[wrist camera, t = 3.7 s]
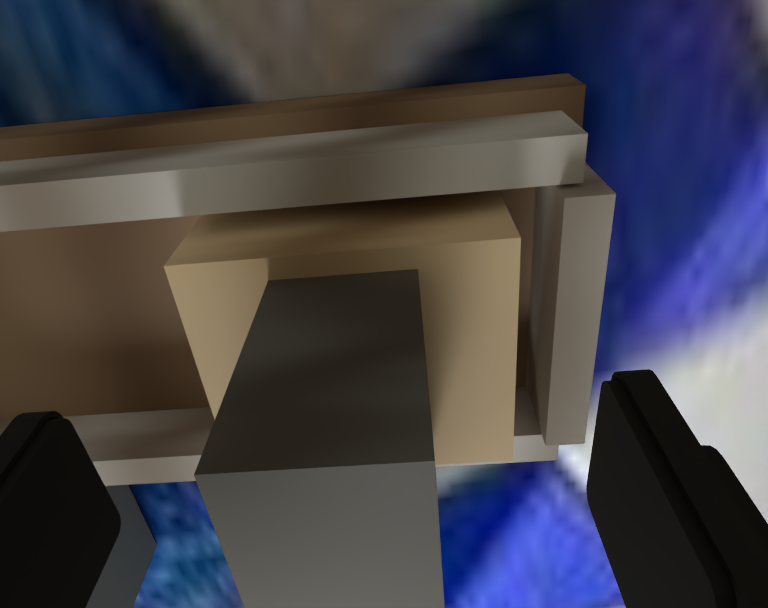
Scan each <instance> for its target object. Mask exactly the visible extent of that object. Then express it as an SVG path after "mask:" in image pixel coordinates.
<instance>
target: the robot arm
mask: <svg viewBox="0 0 768 608" xmlns="http://www.w3.org/2000/svg"><path fill="white" fill-rule="evenodd" d="M587 499H588V504H589V507H590V510H591V513H592V516H593V518H594V521H595V524H596V527H597V529H598V532H599V535H600V538H601V540H602V543H603V546H604V548H605V551H606V554H607V557H608V559H609V562H610V565H611V568H612V570H613V573H614V576H615V578H616V581H617V584H618V587H619V589H620V592H621V595H622V598H623V600H624V603H625V606H626V608H768V524H767V522H766V521H765V519H764V518H763V516H762V515H761V513H760V512H759V510H758V509H757V507H756V506H755V504H754V503H753V501H752V500H751V498H750V497H749V495H748V494H747V492H746V491H745V489H744V488H743V486H742V485H741V483H740V482H739V480H738V479H737V477H736V476H735V474H734V473H733V471H732V470H731V468H730V467H729V465H728V464H727V462H726V461H725V459H724V458H723V457H722V455H721V454H720V453H719V452H718V451H717V450H716V449H715V448H713V447H712V446H705V445H704V446H701V445H700V443H699V442H698V440H697V439H696V437H695V436H694V434H693V432H692V431H691V429H690V428H689V426H688V425H687V423H686V421H685V420H684V418H683V417H682V415H681V414H680V412H679V411H678V409H677V407H676V406H675V404H674V403H673V401H672V400H671V398H670V396H669V395H668V393H667V392H666V390H665V389H664V387H663V385H662V384H661V382H660V381H659V379H658V378H657V376H656V375H655V373H654V372H653V371H651V370H649V369H648V370H634V371H619V372H614V374H613V375H612V379H611V381H604V382H603V383H602V385H601V391H600V398H599V405H598V411H597V418H596V425H595V432H594V439H593V446H592V453H591V460H590V466H589V473H588V480H587ZM120 528H121V517H120V514H119V512H118V510H117V508H116V506H115V504H114V502H113V500H112V498H111V496H110V495H109V493H108V491H107V489H106V487H105V485H104V483H103V481H102V479H101V477H100V476H99V474H98V472H97V470H96V468H95V466H94V464H93V462H92V460H91V458H90V457H89V455H88V453H87V451H86V449H85V447H84V445H83V443H82V441H81V439H80V437H79V436H78V434H77V432H76V430H75V428H74V426H73V424H72V423H71V421H70V420H68V419H67V418H63V416H62V415H61V414H60V413H58V412H57V411H43V412H29V413H21V414H19V415H17V416H16V417H15V418H14V419H13V420H12V421H11V422H10V424H9V425H8V426H7V427H6V429H5V430H4V431H3V432H2V434H1V435H0V608H86V606H87V604H88V601H89V599H90V597H91V595H92V593H93V590H94V588H95V586H96V584H97V582H98V579H99V577H100V575H101V573H102V571H103V568H104V566H105V564H106V562H107V560H108V557H109V555H110V553H111V551H112V549H113V547H114V544H115V542H116V540H117V538H118V535H119V533H120Z"/></svg>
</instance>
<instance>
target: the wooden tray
mask: <svg viewBox="0 0 768 608" xmlns="http://www.w3.org/2000/svg"><path fill="white" fill-rule="evenodd" d="M585 91H586V84H584V83H582V82H581V81H579V80H578V79H576V78H574V77H573V76H571V75H570V74H568V73H565V74H554V75H544V76H533V77H523V78H512V79H502V80H491V81H481V82H470V83H460V84H449V85H439V86H428V87H418V88H407V89H397V90H386V91H376V92H365V93H355V94H344V95H334V96H323V97H313V98H302V99H292V100H281V101H271V102H260V103H250V104H239V105H229V106H218V107H208V108H197V109H187V110H176V111H166V112H155V113H145V114H134V115H124V116H113V117H103V118H92V119H81V120H71V121H60V122H50V123H39V124H29V125H18V126H8V127H0V435H1V434H2V432H3V431H4V430H5V429H6V427H7V426H8V425H9V424H10V422H11V421H12V420H13V419H14V418H15V417H16V416H17V415H19V414H21V413H29V412H43V411H57V412H58V413H60V414H61V415H62V416H63V418H67V419H68V420H70V421H71V423H72V424H73V426H74V428H75V430H76V432H77V434H78V436H79V437H80V439H81V441H82V443H83V445H84V447H85V449H86V451H87V453H88V455H89V457H90V458H91V460H92V462H93V464H94V466H95V468H96V470H97V472H98V474H99V476H100V477H101V479H102V481H103V483H104V485H105V486H113V485H130V484H148V483H165V482H183V481H196V479H195V477H194V473H195V471H196V468H197V465H198V463H199V460H200V458H201V455H202V452H203V450H204V447H205V444H206V442H207V439H208V437H209V434H210V431H211V429H212V426H213V424H214V421H215V420H214V417H213V414H212V411H211V408H210V405H209V402H208V398H207V395H206V392H205V389H204V386H203V383H202V380H201V377H200V374H199V371H198V368H197V365H196V362H195V359H194V356H193V353H192V350H191V347H190V344H189V341H188V338H187V335H186V332H185V329H184V326H183V323H182V320H181V317H180V314H179V311H178V308H177V305H176V302H175V299H174V296H173V293H172V290H171V287H170V284H169V281H168V278H167V275H166V272H165V269H164V265H165V263H166V262H167V261H168V259H169V258H170V257H171V255H172V254H173V253H174V251H175V250H176V249H177V247H178V246H179V245H180V243H181V242H182V241H183V239H184V238H185V237H186V235H187V234H188V232H189V231H190V230H191V228H192V227H193V226H194V224H195V223H196V222H197V220H198V219H199V218H200V216H201V215H207V214H219V213H231V212H243V211H255V210H266V209H278V208H290V207H302V206H314V205H326V204H338V203H349V202H361V201H373V200H385V199H397V198H409V197H421V196H432V195H444V194H456V193H468V192H480V191H492V190H499V192H500V194H501V196H502V198H503V201H504V203H505V205H506V207H507V209H508V211H509V213H510V215H511V217H512V220H513V222H514V224H515V226H516V228H517V230H518V232H519V234H520V237H521V252H520V279H519V306H518V333H517V360H516V387H515V414H514V441H513V460H510V461H493V462H475V463H458V464H441V465H435V467H444V466H461V465H479V464H496V463H514V462H531V461H548V460H557V456H558V446H559V445H566V444H583V443H585V435H586V427H587V419H588V411H589V403H590V395H591V387H592V380H593V372H594V364H595V356H596V348H597V340H598V332H599V324H600V317H601V309H602V301H603V293H604V285H605V277H606V269H607V261H608V254H609V246H610V238H611V230H612V222H613V214H614V206H615V198H616V193H615V192H614V191H613V190H612V189H611V188H610V187H609V186H608V185H607V184H606V183H605V182H604V181H603V180H602V179H601V178H600V177H599V176H598V175H597V174H596V173H595V172H594V171H593V170H592V169H591V168H590V167H589V166H588V165H587V163H586V162H585V160H586V149H587V139H588V133H587V132H586V131H585V130H583V129H582V125H583V113H584V102H585Z"/></svg>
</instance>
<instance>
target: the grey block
mask: <svg viewBox="0 0 768 608" xmlns="http://www.w3.org/2000/svg"><path fill="white" fill-rule="evenodd" d="M105 487H106V489H107V491H108V493H109V495H110V496H111V498H112V500H113V502H114V504H115V506H116V508H117V510H118V512H119V514H120V517H121V528H120V533H119V535H118V538H117V540H116V542H115V544H114V547H113V549H112V551H111V553H110V555H109V557H108V560H107V562H106V564H105V566H104V568H103V571H102V573H101V575H100V577H99V579H98V582H97V584H96V586H95V588H94V590H93V593H92V595H91V597H90V599H89V601H88V604H87V606H86V608H132V607H133V604H134V602H135V599H136V597H137V594H138V592H139V589H140V587H141V584H142V582H143V579H144V577H145V574H146V572H147V569H148V567H149V564H150V562H151V559H152V557H153V554H154V552H155V549H156V547H157V544H156V542H155V540H154V538H153V536H152V534H151V532H150V530H149V527H148V525H147V523H146V521H145V519H144V517H143V515H142V513H141V511H140V509H139V506H138V504H137V502H136V500H135V498H134V496H133V494H132V492H131V490H130V488H129V486H128V485H113V486H105Z"/></svg>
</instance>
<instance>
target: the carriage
mask: <svg viewBox="0 0 768 608" xmlns="http://www.w3.org/2000/svg"><path fill="white" fill-rule="evenodd" d="M520 252H521V237H520V234H519V232H518V230H517V228H516V226H515V224H514V222H513V220H512V217H511V215H510V213H509V211H508V209H507V207H506V205H505V203H504V201H503V198H502V196H501V194H500V192H499V190H492V191H480V192H468V193H456V194H444V195H432V196H421V197H409V198H397V199H385V200H373V201H361V202H349V203H338V204H326V205H314V206H302V207H290V208H278V209H266V210H255V211H243V212H231V213H219V214H207V215H201V216H200V218H199V219H198V220H197V222H196V223H195V224H194V226H193V227H192V228H191V230H190V231H189V232H188V234H187V235H186V237H185V238H184V239H183V241H182V242H181V243H180V245H179V246H178V247H177V249H176V250H175V251H174V253H173V254H172V255H171V257H170V258H169V259H168V261H167V262H166V263H165V265H164V269H165V272H166V275H167V278H168V281H169V284H170V287H171V290H172V293H173V296H174V299H175V302H176V305H177V308H178V311H179V314H180V317H181V320H182V323H183V326H184V329H185V332H186V335H187V338H188V341H189V344H190V347H191V350H192V353H193V356H194V359H195V362H196V365H197V368H198V371H199V374H200V377H201V380H202V383H203V386H204V389H205V392H206V395H207V398H208V402H209V405H210V408H211V411H212V414H213V417H214V420H215V421H214V424H213V426H212V429H211V431H210V434H209V437H208V439H207V442H206V444H205V447H204V450H203V452H202V455H201V458H200V460H199V463H198V465H197V468H196V471H195V473H194V477H195V479H196V482H197V484H198V487H199V490H200V492H201V495H202V497H203V500H204V503H205V505H206V508H207V511H208V513H209V516H210V518H211V521H212V524H213V526H214V529H215V531H216V534H217V537H218V539H219V542H220V544H221V547H222V550H223V552H224V555H225V557H226V560H227V563H228V565H229V568H230V570H231V573H232V576H233V578H234V581H235V584H236V586H237V589H238V591H239V594H240V597H241V599H242V602H243V604H244V607H245V608H444V593H443V578H442V562H441V546H440V530H439V515H438V499H437V483H436V468H435V465H441V464H458V463H475V462H493V461H510V460H513V441H514V414H515V387H516V360H517V333H518V306H519V279H520Z"/></svg>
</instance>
